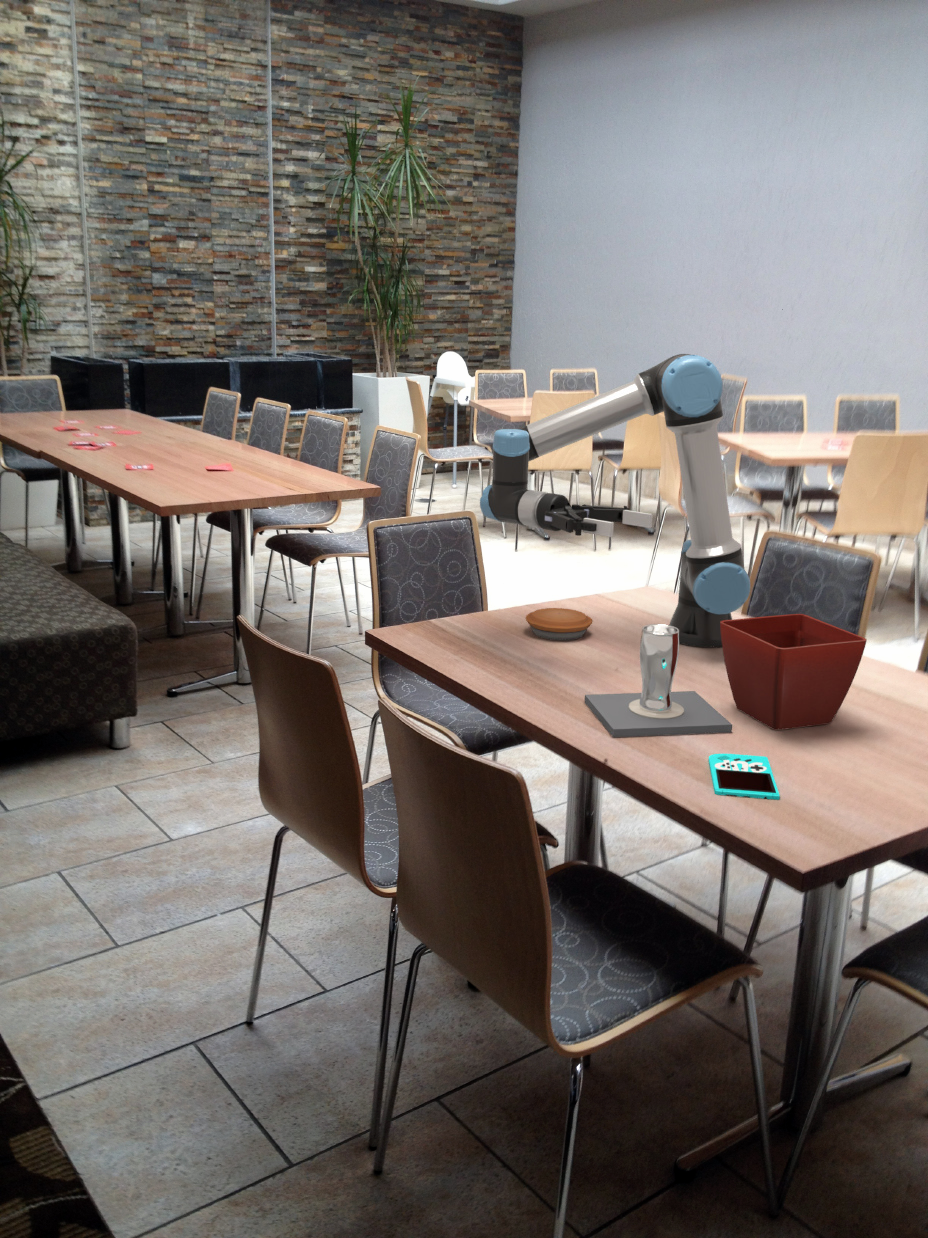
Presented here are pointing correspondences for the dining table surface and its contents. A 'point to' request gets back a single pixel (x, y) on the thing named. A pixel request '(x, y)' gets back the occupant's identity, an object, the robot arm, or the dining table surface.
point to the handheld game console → (742, 776)
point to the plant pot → (789, 668)
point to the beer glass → (658, 666)
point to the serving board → (656, 715)
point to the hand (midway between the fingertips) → (632, 525)
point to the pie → (558, 623)
